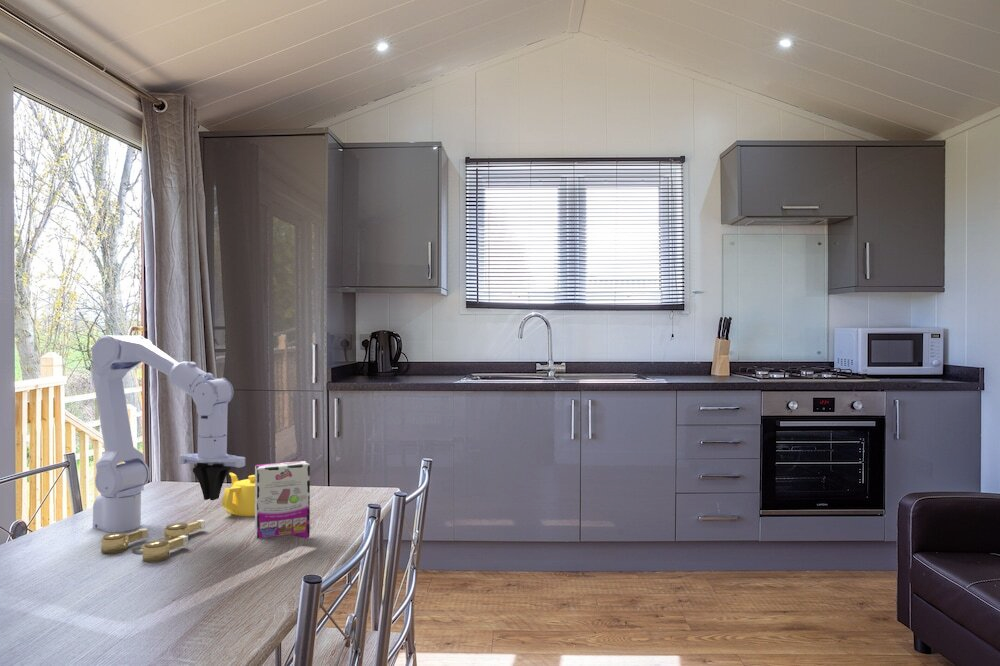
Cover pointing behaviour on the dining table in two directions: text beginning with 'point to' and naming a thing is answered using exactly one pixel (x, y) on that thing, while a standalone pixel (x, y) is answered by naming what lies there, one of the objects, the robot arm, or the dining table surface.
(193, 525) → the knob rear
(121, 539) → the knob inner
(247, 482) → the teapot
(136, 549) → the tribrach plate
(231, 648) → the dining table surface
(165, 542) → the knob front
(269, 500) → the candy bar box
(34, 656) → the dining table surface
